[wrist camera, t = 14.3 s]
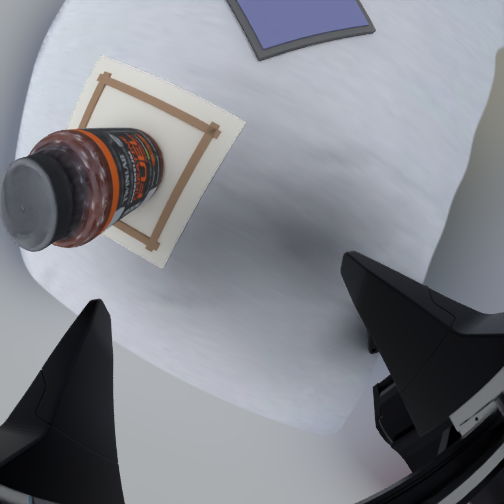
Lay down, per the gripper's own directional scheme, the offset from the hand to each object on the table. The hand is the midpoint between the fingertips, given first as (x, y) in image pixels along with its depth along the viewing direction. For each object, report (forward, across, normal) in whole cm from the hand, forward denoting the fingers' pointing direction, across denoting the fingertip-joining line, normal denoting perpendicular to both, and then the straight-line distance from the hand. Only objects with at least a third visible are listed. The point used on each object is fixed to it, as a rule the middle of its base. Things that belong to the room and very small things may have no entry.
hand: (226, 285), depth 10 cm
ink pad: (+13, -8, -13) cm, 20 cm away
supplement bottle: (+13, +5, -1) cm, 14 cm away
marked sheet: (+14, +5, -1) cm, 15 cm away
